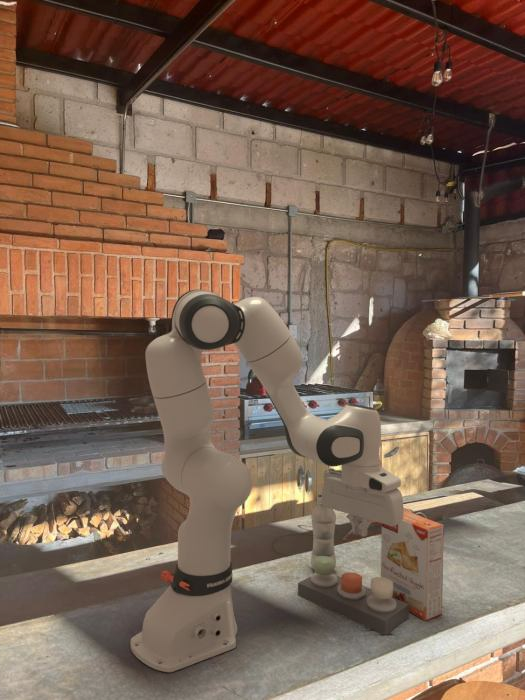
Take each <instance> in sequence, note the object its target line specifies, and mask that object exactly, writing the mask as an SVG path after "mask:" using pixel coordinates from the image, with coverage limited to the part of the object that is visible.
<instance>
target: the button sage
mask: <svg viewBox="0 0 525 700" xmlns="http://www.w3.org/2000/svg"><path fill="white" fill-rule="evenodd" d="M313 570H314V573H317V574H320V575H331V574H335V573H334V572H335V568H334V559H333V558H331V557H328V556H319V557H316V558H315V559H314V569H313Z"/></svg>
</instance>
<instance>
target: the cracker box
mask: <svg viewBox="0 0 525 700" xmlns="http://www.w3.org/2000/svg"><path fill="white" fill-rule="evenodd" d="M444 528H445V525H444V524H442V523H439V522H436V521H434V520H431V519H429V518H426V517H424V516H421V515H418V514H416V513H413V512H410V511H407V510H405V509H404V516H403V520H402V522H401V523H399V524H397V525H395V526H390V525H386V524H383V523H381V542H380V543H381V546H380V547H381V549H380V550H381V551H380V577H383V578H387V579H389V580H391V581H392V582H393V596H392V598H395V599H397V600H400V601H402V602H405V603H407V604H409V613H411V614H413V615H414V616H416V617H418V618H419V619H422V620H423V621H424V622H427V621H429V620H431V619H433V618H435V617H439V616H441V615H442V614H443V590H444V589H443V584H444V582H443V581H444V579H443V578H444V542H445V541H444V539H445V538H444V535H445V531H444Z"/></svg>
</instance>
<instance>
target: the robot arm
mask: <svg viewBox="0 0 525 700" xmlns="http://www.w3.org/2000/svg"><path fill="white" fill-rule="evenodd" d="M232 344H234V346H236V347H237V349H238V351H240V353H241V355H242V357H243V358H244V360H245V362H246V363H247V365H248V366H249V367H250V369H251V371H252V372H253V374H254V375H255V376H256V378H257V379H258V380H259V382H260V384H261V385H262V387H263V388H264V391H265V393H266V394H267V395H266V396H267V398H268V399H269V400H270V402H271V404H272V405H273V407H274V409H275V411H276V413H277V415H278V416H279V419H280V420H281V422H282V425H283V428H284V432H285V434H284V435H285V438H286V439H285V440H286V443H287V445H288V448H289V449H290V451H291V452H292V453H294V454H295V455H297V456H299V457H303V458H307V459H310V460H311V461H314V462H316V463H318V464H319V463H320V464H322V465H324V466H327V467H329V468H328V469H326V470H325V471H324V472H323V483H322V489H321V494H322V496H321V502H322V504H323V506H324V507H327V508H330V509H333V510H334V511H338V512H341V513H344V514H347V516H348V520H349V522H350V525H351V526H352V534H353V535H357V536H360V537H363V538H365V537H366V536H367V535H368V529H369V527H370V525H371V524H372V522H376V523H380V524H382V523H383V524H386V525H390V526H395V525H397V524H399V523H401V522H402V520H403V516H404V510H405V509H404V498H403V494H402V492H401V490H400V489H399V488H400V487H401V484H402V480H401V478H400V477H399V476H397V475H395V474H393V473H392V472H390V471H388V470H387V469H385V468H384V467H382V465H381V463H382V462H381V457H380V450H381V449H380V448H381V445H382V426H381V425H382V424H381V417H380V415H379V411H377V409H376V408H374V407H371V406H367V405H362V404H357V403H347V404H346V405H345V406H344V408H343V409H342V410H341V411H340V412H338V413H336V415H333V416H331V417H330V418H327V419H326V418H325V419H324V418H322V417H319V416H317V415H315V414H313V413H311V412H310V411H309V410H308V409H307V408H306V406H305V404H304V402H303V400H302V399H301V396H300V395H299V393H298V391H297V389H296V388H295V385H294V379H295V378H296V377H297V376H299V373H300V372H301V369H302V367H303V361H304V357H303V355H302V352H301V349H300V347H299V345H298V343H297V340H296V339H295V337H294V336H293V334H292V332H291V331H290V329H289V328H288V326H287V325H286V323H285V322H284V321H283V319H282V318H281V316H280V315H279V314H278V312H277V311H276V310H275V309H274V308H273V306H272V305H270V303H269V302H268V301H267V300H265V299H264V298H262V297H260V296H250V297H245V298H243V299H241V300H240V301H238V302H236V303H232V302H231V301H229V300H227V299H225V298H224V297H221V296H220V295H219V294H217V293H215V292H213V291H210V290H206V289H205V290H204V289H192V290H189V291H186V292H185V293H183V294H182V295H181V296H180V297H178V298H177V300H176V302H175V303H174V306H173V308H172V311H171V317H170V322H169V325H168V333H166V334H163V335H161V336H158V337H156V338H155V339H154V340H151V342H150V343H149V344H148V345H147V347H146V349H145V363H146V364H145V365H146V372H147V378H148V382H149V387H150V390H151V391H150V392H151V394H152V398H153V401H154V404H155V408H156V411H157V415H158V417H159V421H160V425H161V427H162V431H163V432H162V433H163V439H164V440H163V441H164V455H163V457H162V460H161V461H162V462H161V471H162V475H163V476H164V478H165V479H166V480H167V482H168V483H169V484H170V485H171V486H172V487H173V488H174V489H175V490H177V491H179V493H180V492H181V493H182V494H185V495H186V496H188V498H189V510H188V513H187V517H186V519H185V520H184V521H182V523H181V524H180V525H179V528H178V531H177V563H176V565H175V568H174V571H173V573H172V572H170V571H169V570H166V569H164V570H163V571H162V572H161V574H160V578H161V579H160V580H162V581H164V582H166V583H167V584H168V583H170V585H169V587H167V588H166V590H165V591H164V592H163V593H162V594H161V596H160V597H159V598H158V599H157V600H156V601H155V602H154V604H153V605H152V606H151V607H150V608H149V609H148V610H147V611H146V613H145V615H144V618H143V622H142V630H141V631H140V632H138V633H137V634H135V635H134V636H133V637H131V638H130V651H131V652H132V654H133V655H134V656H135V657H136V659H138V660H139V661H141V662H142V663H143V664H144V665H146V666H148V667H150V668H151V669H154V670H156V671H161V672H164V673H173V672H176V671H178V670H181V669H185V668H186V667H189V666H192V665H195V664H196V663H199V662H203V661H204V660H207V659H210V658H213V657H215V656H218V655H220V654H223V653H226V652H229V651H231V650H234V649H235V648H236V647H237V640H236V636H237V634H238V624H237V622H236V618H235V614H234V607H233V600H232V599H233V597H232V587H231V586H232V585H231V584H232V583H233V563H232V561H231V550H232V549H231V548H232V547H231V546H232V545H231V544H232V543H231V541H232V540H231V539H232V528H233V523H234V519H235V516H236V513H237V511H238V509H239V508H240V507H241V506H243V504H245V503H246V502H247V500H248V499H249V497H250V495H251V493H252V489H253V483H254V481H253V480H254V479H253V475H252V471H251V469H250V468H249V467H248V466H247V465H246V464H245V463H244V462H243V461H242V460H240V459H239V458H238V457H236V456H235V455H233V454H231V453H228V452H226V451H222V450H219V449H217V448H216V447H215V445H214V444H213V441H212V435H211V432H212V429H211V428H212V425H213V423H214V422H215V418H216V411H215V408H214V405H213V401H212V397H211V394H210V390H209V386H208V383H207V380H206V376H205V374H204V369H203V367H202V353H203V351H211V350H212V351H213V350H217V349H220V348H223V347H226V346H229V345H232ZM339 466H341V467H340V468H341V469H335V468H334V467H339ZM330 467H333V468H330ZM358 518H361V522H362V523H363V524H362V525H360V523H359V519H358Z"/></svg>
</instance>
